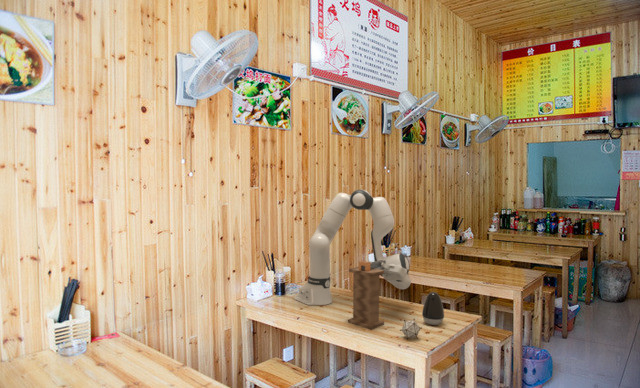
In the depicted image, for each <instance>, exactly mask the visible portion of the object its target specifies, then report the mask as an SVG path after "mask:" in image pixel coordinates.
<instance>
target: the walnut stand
mask: <svg viewBox="0 0 640 388" xmlns="http://www.w3.org/2000/svg"><path fill="white" fill-rule="evenodd" d="M348 272H349V273H353V287H352V288H353V292H352V293H353V294H352V296H353V297H352V302H353V305H352V317H351V318H349V319H347V323H348V324H350V325H353V326H357V327H361V328H363V329H367V330H371V331H373V330H375V329H378V328H380V327H382V326H384V325H385V321H384V320H379V319H380V317H379V315H380V277H381V276H380V275H382V274H384V270H379V269H371V270H370V271H362V270H359V266H355V267H351V268H349V269H348Z"/></svg>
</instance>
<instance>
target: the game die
mask: <svg viewBox="0 0 640 388" xmlns="http://www.w3.org/2000/svg"><path fill="white" fill-rule="evenodd" d="M403 321H404V322H403V325H402V327H401V329H399V331H401V332H402V333H403V334H404V336H406V341H408V340H409V339H412V338H416V339H418V335H419V334H420V330H421V329H423V327H422V326H421V327H420V325H418V323H417V322H416V319H415V317H414V318H413V319H411V320H405V319H404V320H403Z"/></svg>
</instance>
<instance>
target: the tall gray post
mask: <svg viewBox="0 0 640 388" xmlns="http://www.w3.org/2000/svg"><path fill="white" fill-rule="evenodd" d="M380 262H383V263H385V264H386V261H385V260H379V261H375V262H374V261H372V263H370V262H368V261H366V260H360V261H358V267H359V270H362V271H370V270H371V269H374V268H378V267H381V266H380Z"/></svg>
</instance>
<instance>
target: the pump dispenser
mask: <svg viewBox="0 0 640 388" xmlns="http://www.w3.org/2000/svg"><path fill="white" fill-rule="evenodd" d="M443 305H444V304H443V302H442V298H441V297H440V294H438V293H437V292H435V291H431V292H429V293H428V295H427V296H426V298H425V301H424V303H423V306H422V307H423V308H422V312H421V315H422V318H423V320H424V322H425V323H426V324H428V325H430V326H438V325H440V324H441V323H442V322H443V321H444V318H445V312H444V306H443Z"/></svg>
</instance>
